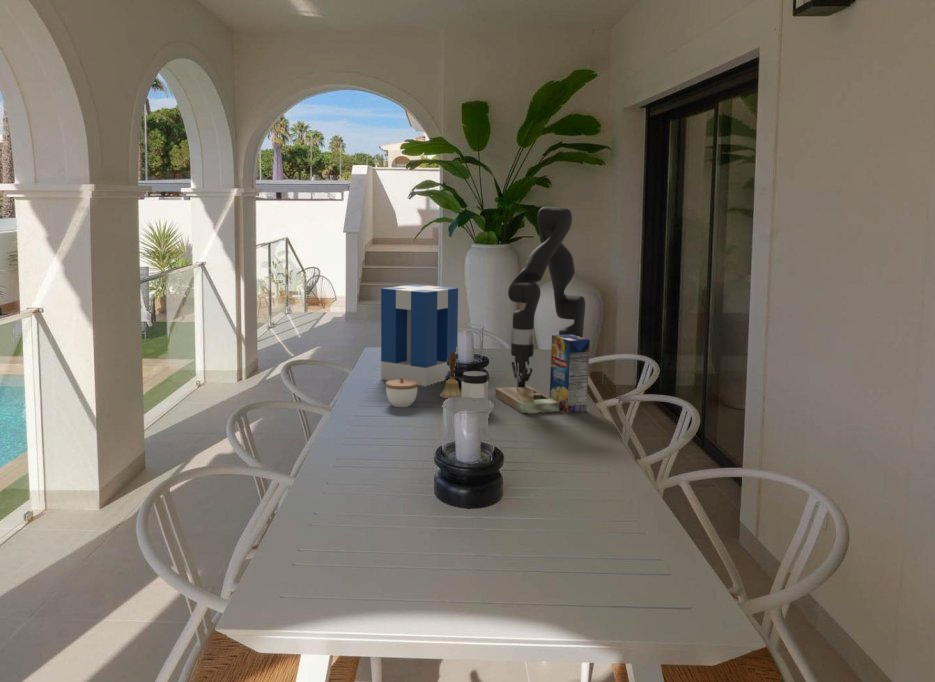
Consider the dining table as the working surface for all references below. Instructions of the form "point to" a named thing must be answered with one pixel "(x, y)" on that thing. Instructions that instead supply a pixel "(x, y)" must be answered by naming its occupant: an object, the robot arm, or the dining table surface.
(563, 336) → the juice carton
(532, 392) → the beech block
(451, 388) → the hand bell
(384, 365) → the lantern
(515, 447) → the dining table surface
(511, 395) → the wooden compartment tray
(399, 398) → the lidded jar
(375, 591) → the dining table surface
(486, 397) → the jar
